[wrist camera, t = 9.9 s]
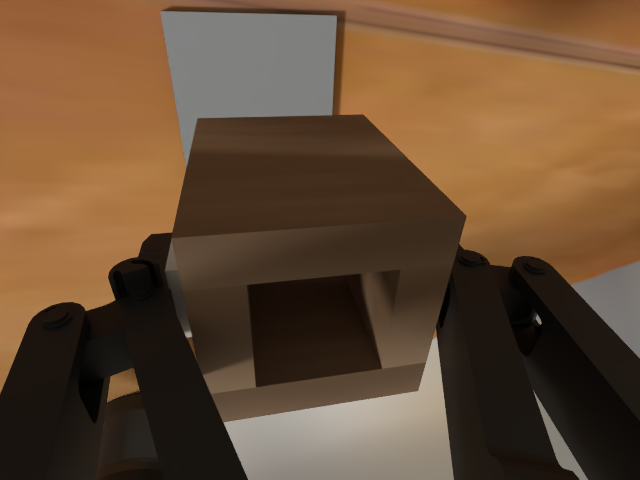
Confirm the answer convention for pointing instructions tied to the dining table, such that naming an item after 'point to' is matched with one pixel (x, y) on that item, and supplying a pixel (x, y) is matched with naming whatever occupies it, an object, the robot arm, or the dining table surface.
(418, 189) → the walnut collar
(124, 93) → the dining table surface
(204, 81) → the slate mat
